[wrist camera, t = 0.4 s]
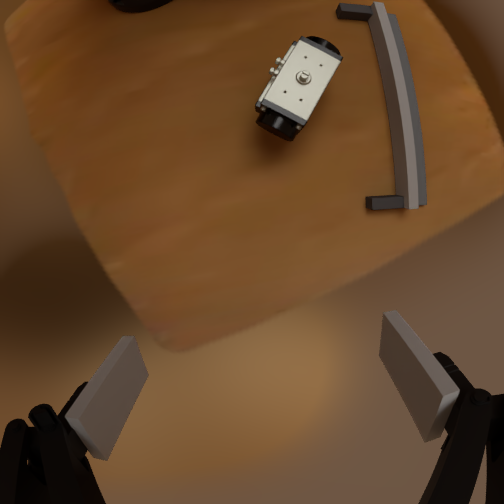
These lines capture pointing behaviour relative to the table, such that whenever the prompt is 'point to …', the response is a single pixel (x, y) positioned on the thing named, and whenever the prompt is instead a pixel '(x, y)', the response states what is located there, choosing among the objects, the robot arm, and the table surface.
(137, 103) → the table surface
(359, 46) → the table surface
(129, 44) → the table surface
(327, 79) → the pneumatic valve
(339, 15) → the curved pull handle
